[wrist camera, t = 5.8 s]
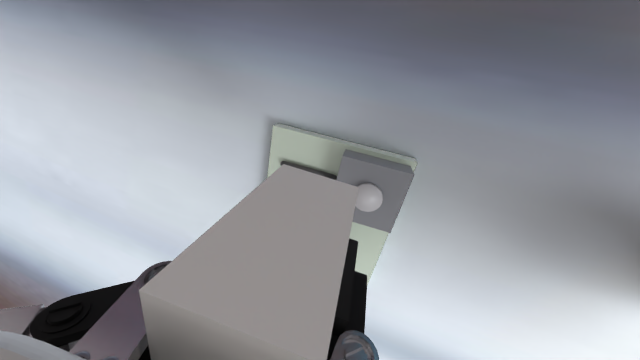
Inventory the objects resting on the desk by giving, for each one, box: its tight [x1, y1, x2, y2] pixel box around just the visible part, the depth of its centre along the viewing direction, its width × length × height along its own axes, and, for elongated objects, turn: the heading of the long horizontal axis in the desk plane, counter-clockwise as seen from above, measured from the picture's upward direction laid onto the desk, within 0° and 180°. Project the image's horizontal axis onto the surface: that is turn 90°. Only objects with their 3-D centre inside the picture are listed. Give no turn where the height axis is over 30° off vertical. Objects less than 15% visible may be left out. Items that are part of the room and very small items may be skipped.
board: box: [267, 123, 417, 285], centre depth 28 cm, size 16×20×5 cm
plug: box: [139, 164, 359, 360], centre depth 10 cm, size 4×7×8 cm, turn 167°
